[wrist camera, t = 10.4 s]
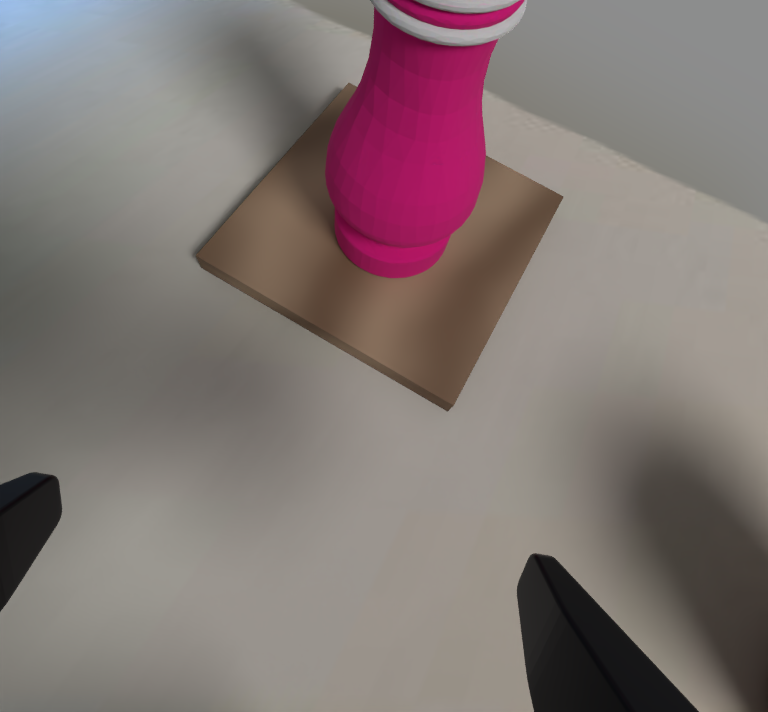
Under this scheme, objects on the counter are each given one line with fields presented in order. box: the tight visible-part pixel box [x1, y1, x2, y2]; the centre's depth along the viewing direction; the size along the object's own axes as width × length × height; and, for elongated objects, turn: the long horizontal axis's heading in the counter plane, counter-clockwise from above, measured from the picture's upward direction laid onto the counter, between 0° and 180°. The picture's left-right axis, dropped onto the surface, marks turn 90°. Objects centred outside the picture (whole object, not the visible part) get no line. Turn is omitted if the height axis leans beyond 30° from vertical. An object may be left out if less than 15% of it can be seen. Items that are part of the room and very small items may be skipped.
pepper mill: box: [325, 0, 527, 278], centre depth 16 cm, size 7×7×20 cm
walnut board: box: [196, 83, 563, 411], centre depth 26 cm, size 15×15×1 cm
